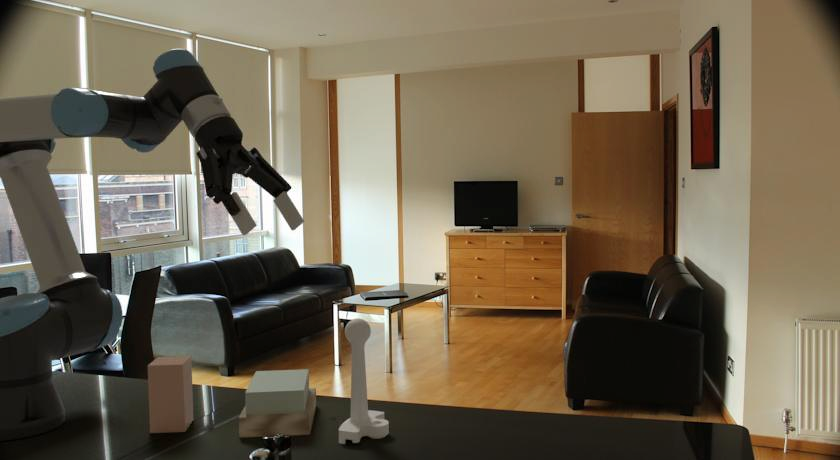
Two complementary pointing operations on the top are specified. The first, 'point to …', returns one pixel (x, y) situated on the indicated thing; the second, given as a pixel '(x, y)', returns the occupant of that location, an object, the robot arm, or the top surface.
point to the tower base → (279, 421)
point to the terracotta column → (170, 394)
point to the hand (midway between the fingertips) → (275, 228)
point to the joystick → (360, 391)
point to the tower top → (277, 392)
